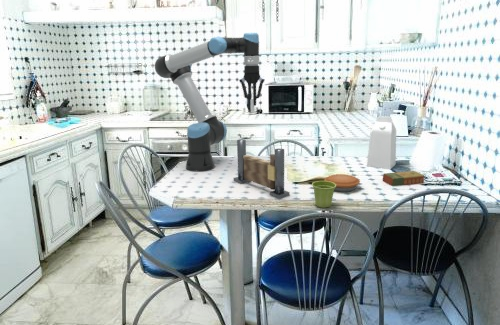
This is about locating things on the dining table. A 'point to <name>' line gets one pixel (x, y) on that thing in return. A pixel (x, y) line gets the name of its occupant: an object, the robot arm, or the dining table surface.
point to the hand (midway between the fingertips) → (252, 111)
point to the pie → (343, 182)
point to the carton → (403, 178)
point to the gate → (258, 170)
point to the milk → (382, 144)
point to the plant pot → (323, 193)
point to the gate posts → (273, 171)
